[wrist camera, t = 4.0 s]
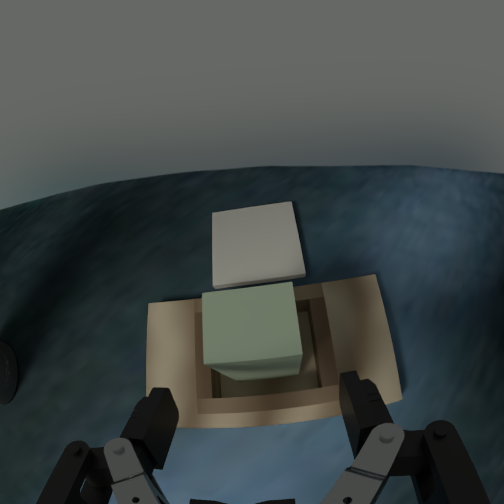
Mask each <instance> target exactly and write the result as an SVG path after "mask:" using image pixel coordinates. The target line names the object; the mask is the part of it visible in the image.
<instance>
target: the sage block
mask: <svg viewBox="0 0 504 504" xmlns="http://www.w3.org/2000/svg"><path fill="white" fill-rule="evenodd" d="M202 325H203V359H204V364H205V365H207V366H208V367H210V368H212V369H214V370H216V371H218V372H220V373H222V374H224V375H226V376H228V377H230V378H232V379H234V380H236V381H238V382H240V381H252V380H263V379H272V378H281V377H289V376H296V375H299V370H300V365H301V360H302V355H303V353H302V346H301V339H300V331H299V324H298V317H297V310H296V304H295V297H294V290H293V284H292V282H286V283H279V284H272V285H264V286H256V287H249V288H241V289H233V290H224V291H216V292H207V293H202Z"/></svg>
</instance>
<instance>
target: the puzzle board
mask: <svg viewBox="0 0 504 504" xmlns="http://www.w3.org/2000/svg"><path fill="white" fill-rule="evenodd" d="M293 290H294V297H295V304H296V310H297V317H298V324H299V331H300V339H301V346H302V353H303V355H302V360H301V365H300V370H299V375H296V376H289V377H281V378H272V379H263V380H252V381H240V382H238V381H236V380H234V379H232V378H230V377H228V376H226V375H224V374H222V373H220V372H218V371H216V370H214V369H212V368H210V367H208V366H207V365H205V364H204V359H203V325H202V298H200V299H190V300H180V301H170V302H160V303H149V307H148V325H147V355H146V396H147V397H148V396H149V394H150V392H151V390H152V388H153V387H166V388H169V389H170V391H171V393H172V396H173V398H174V401H175V403H176V405H177V408H178V411H179V421H178V424H177V427H179V428H234V427H253V426H266V425H276V424H286V423H294V422H302V421H309V420H315V419H321V418H327V417H333V416H338V415H342V412H341V409H340V403H339V377H340V373H344V372H349V371H354V370H356V371H357V373H358V376H359V378H360V380H363V379H370V380H371V381H372V382H373V383H375V384H376V386H377V388H378V390H379V393H380V394H381V397H382V400H383V401H384V403H385V405H386V404H389V403H393V402H396V401H400V400H402V394H401V388H400V382H399V376H398V370H397V365H396V359H395V354H394V349H393V344H392V340H391V335H390V330H389V326H388V322H387V317H386V313H385V309H384V305H383V301H382V297H381V294H380V290H379V286H378V282H377V279H376V275H375V274H373V275H367V276H361V277H355V278H349V279H343V280H336V281H330V282H323V283H317V284H310V285H303V286H296V287H293Z"/></svg>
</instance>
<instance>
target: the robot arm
mask: <svg viewBox="0 0 504 504" xmlns="http://www.w3.org/2000/svg"><path fill="white" fill-rule="evenodd" d="M17 379H18V368H17V361H16V357H15V354H14V352H13V350H12V348H11V347H10V346H9V345H7V344H5V343H3V342H1V341H0V404H7V403H8V402H9V401H10V400H11V399H12V397H13V396H14V393H15V390H16V386H17ZM339 403H340V409H341V412H342V416H343V419H344V423H345V426H346V430H347V434H348V437H349V441H350V445H351V448H352V452H353V456H354V462H353V463H352V465H351V466H350V467H349V468H346V469H345V470H344V472H343V473H342V474H341V476H340V477H339V479H338V480H337V482H336V483H335V484H334V486H333V487H332V489H331V490H330V491H329V493H328V494H327V495H326V497H325V498H324V499H323V501H322V502H321V503H320V504H375V502H376V501H377V499H378V497H379V495H380V494H381V492H382V490H383V488H384V486H385V484H386V482H387V480H388V479H389V477H390V476H408V475H410V476H411V479H412V482H413V486H414V489H415V493H416V496H417V500H418V503H419V504H490V502H489V499H488V497H487V494H486V492H485V489H484V487H483V485H482V483H481V480H480V478H479V476H478V474H477V471H476V469H475V467H474V465H473V463H472V461H471V459H470V456H469V454H468V452H467V450H466V448H465V446H464V444H463V442H462V440H461V438H460V436H459V434H458V433H457V431H456V429H455V427H454V425H453V424H451V423H450V422H448V421H444V420H438V421H434V422H432V423H430V424H429V425H428V426H427V427H426V429H425V430H416V431H407V430H403V429H402V428H401V427H400V426H398V425H396V424H394V422H393V420H392V418H391V416H390V414H389V412H388V409H387V407H386V405H385V403H384V401H383V400H382V397H381V394H380V393H379V390H378V388H377V386H376V384H375V383H373V382H372V381H371V380H370V379H363V380H360V378H359V376H358V373H357V371H356V370H354V371H349V372H344V373H340V377H339ZM178 421H179V411H178V408H177V405H176V403H175V401H174V398H173V396H172V393H171V391H170V389H169V388H166V387H153V388H152V390H151V392H150V394H149V396H148V397H143V398H142V399H141V400H140V401H139V402H138V403H137V405H136V407H135V409H134V412H132V414H131V418H129V420H128V422H127V424H126V426H125V428H124V430H123V432H122V434H121V436H120V438H115V439H112V440H110V441H109V442H108V443H107V444H106V445H105V447H100V448H90V447H89V446H88V445H87V444H86V443H85V442H83V441H74V442H72V443H70V444H69V445H67V447H66V448H65V450H64V452H63V453H62V455H61V457H60V459H59V461H58V463H57V464H56V466H55V468H54V470H53V472H52V474H51V476H50V477H49V479H48V481H47V483H46V485H45V487H44V489H43V491H42V493H41V495H40V497H39V499H38V501H37V503H36V504H108V503H109V500H110V497H111V494H112V491H113V492H114V494H115V497H116V500H117V502H118V504H170V503H169V502H168V500H167V499H166V497H165V495H164V494H163V492H162V490H161V488H160V487H159V485H158V483H157V481H156V479H155V477H154V476H153V474H152V473H153V470H154V469H160V470H163V467H164V463H165V460H166V457H167V454H168V451H169V448H170V445H171V442H172V439H173V436H174V433H175V430H176V427H177V424H178ZM84 479H86V481H85V483H84V485H83V488H82V490H81V492H80V488H81V486H82V484H83V481H84ZM189 504H226V503H222V502H218V501H210V500H196V499H190V503H189ZM256 504H295V498H294V499H284V500H270V501H265V502H260V503H256Z"/></svg>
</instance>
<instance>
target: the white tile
mask: <svg viewBox="0 0 504 504" xmlns="http://www.w3.org/2000/svg"><path fill="white" fill-rule="evenodd" d="M212 261H213V287H214V288H215V289H218V288H227V287H235V286H243V285H251V284H259V283H266V282H274V281H281V280H288V279H295V278H302V277H306V272H305V267H304V261H303V256H302V251H301V246H300V241H299V236H298V231H297V226H296V221H295V216H294V211H293V207H292V202H283V203H276V204H269V205H262V206H255V207H248V208H241V209H235V210H228V211H222V212H215V213H212Z"/></svg>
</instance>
